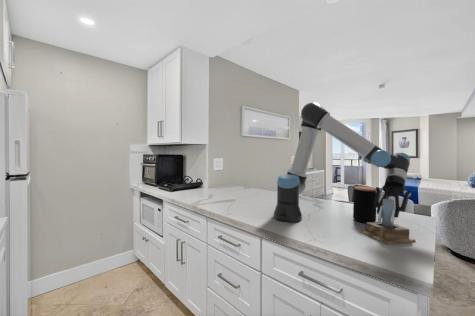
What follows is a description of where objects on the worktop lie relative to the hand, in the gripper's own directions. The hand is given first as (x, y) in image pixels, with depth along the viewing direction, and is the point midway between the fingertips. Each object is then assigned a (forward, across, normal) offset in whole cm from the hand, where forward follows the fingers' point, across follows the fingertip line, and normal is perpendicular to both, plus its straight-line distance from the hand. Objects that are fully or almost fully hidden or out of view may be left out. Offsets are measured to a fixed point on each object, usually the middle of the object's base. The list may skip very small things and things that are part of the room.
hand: (385, 221), depth 94 cm
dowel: (0, 0, -5) cm, 5 cm away
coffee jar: (-9, +14, -20) cm, 27 cm away
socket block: (+3, 0, -8) cm, 8 cm away
